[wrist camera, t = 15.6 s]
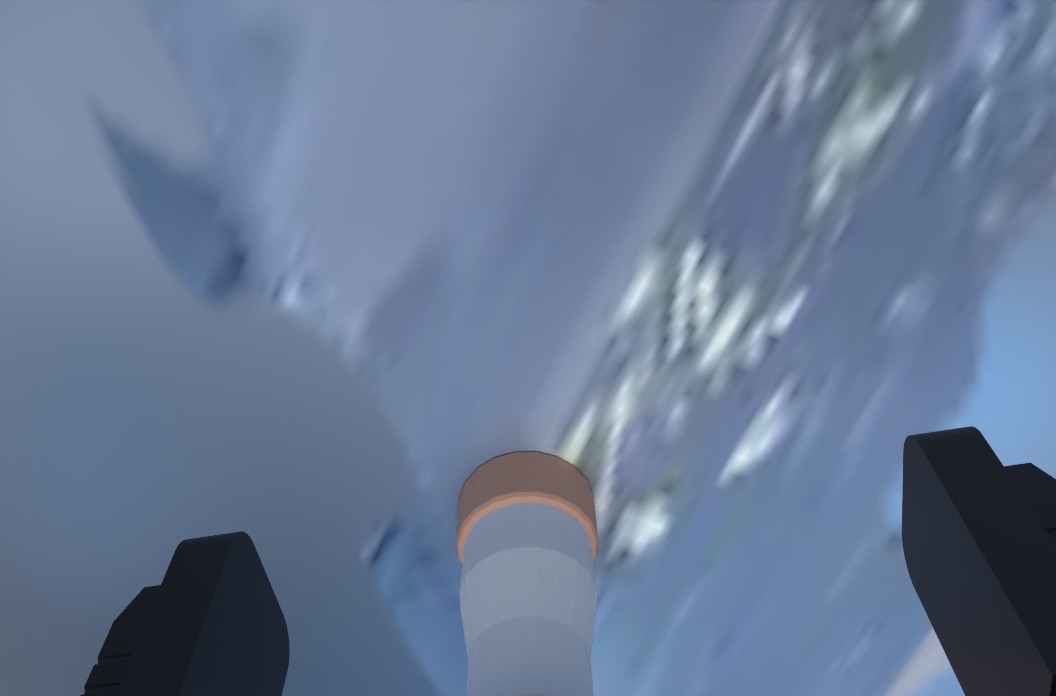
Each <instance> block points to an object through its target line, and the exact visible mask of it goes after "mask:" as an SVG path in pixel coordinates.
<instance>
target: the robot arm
mask: <svg viewBox="0 0 1056 696" xmlns="http://www.w3.org/2000/svg"><path fill="white" fill-rule="evenodd" d="M902 505H903V506H902V542H903V550H904V555H905V560H906V564H907V568H908V572H909V575H910V578H911V581H912V583H913V586H914V588H915V590H916V592H917V594H918V597H919V599H920V601H921V603H922V605H923V607H924V609H925V611H926V613H927V616H928V618H929V620H930V622H931V624H932V626H933V628H934V630H935V632H936V635H937V637H938V639H939V641H940V643H941V645H942V647H943V649H944V651H945V654H946V656H947V658H948V660H949V662H950V664H951V666H952V668H953V670H954V673H955V675H956V677H957V679H958V681H959V683H960V685H961V687H962V689H963V691H964V694H965V696H1056V479H1054V478H1053V477H1051V476H1050V475H1048V474H1047V473H1045V472H1044V471H1042V470H1041V469H1039V468H1038V467H1036V466H1034V465H1033V464H1032V463H1026V464H1018V465H1011V466H1005V467H1004V466H1003V465H1002V463H1001V462H1000V460H999V459H998V457H997V456H996V455H995V453H994V451H993V450H992V449H991V447H990V446H989V444H988V443H987V441H986V440H985V438H984V437H983V435H982V434H981V433H980V431H979V430H978V429H976V428H974V427H964V428H957V429H951V430H944V431H937V432H930V433H923V434H916V435H910V436H908V437H907V438H906V440H905V443H904V452H903V503H902ZM288 664H289V637H288V630H287V625H286V622H285V618H284V615H283V613H282V610H281V608H280V606H279V603H278V601H277V599H276V596H275V594H274V591H273V589H272V587H271V584H270V582H269V579H268V577H267V575H266V572H265V570H264V567H263V565H262V563H261V560H260V558H259V555H258V554H257V551H256V548H255V546H254V544H253V542H252V540H251V538H250V537H249V536H248V534H246V533H245V532H234V533H227V534H221V535H214V536H208V537H200V538H193V539H187V540H183V541H182V542H181V543H180V544H179V545H178V546H177V549H176V550H175V553H174V555H173V558H172V560H171V562H170V565H169V567H168V570H167V572H166V574H165V577H164V579H163V582H162V584H161V585H158V586H151V587H145V588H143V589H142V591H141V592H140V593H139V594H138V595H137V596H136V597H135V598H134V600H133V601H132V602H131V603H130V604H129V605H128V606H127V607H126V609H125V610H124V611H123V612H122V613H121V614H120V615H119V616H118V617H117V619H116V620H115V621H114V622H113V625H112V627H111V629H110V631H109V633H108V636H107V638H106V640H105V642H104V645H103V647H102V649H101V651H100V653H99V655H98V664H97V665H94V667H93V669H92V671H91V673H90V675H89V678H88V680H87V682H86V684H85V687H84V688H85V694H84V695H81V696H281V695H282V691H283V687H284V683H285V678H286V675H287V670H288Z"/></svg>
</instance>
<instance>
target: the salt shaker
mask: <svg viewBox="0 0 1056 696" xmlns="http://www.w3.org/2000/svg"><path fill="white" fill-rule="evenodd" d="M597 548H598V534H597V525H596V515H595V506H594V497H593V494H592V491H591V489H590V486H589V484H588V481H587V480H586V478H585V477H584V476H583V475H582V474H581V473H580V472H579V471H578V470H577V469H576V467H574V466H573V465H571V464H569V463H567V462H566V461H564V460H562V459H560V458H559V457H556V456H552V455H548V454H544V453H539V452H514V453H510V454H507V455H503V456H499V457H496V458H493V459H492V460H490V461H488V462H487V463H485V464H484V465H482V466H480V467H479V468H477V469H476V470H475V471H474V473H473V474H472V475H471V476H470V477H469V479H468V480H467V481H466V482H465V484H464V487H463V490H462V493H461V496H460V498H459V512H458V526H457V554H458V558H459V560H460V562H461V564H462V572H461V582H460V592H459V593H460V608H461V615H462V622H463V628H464V635H465V642H466V648H467V655H468V685H467V696H593V684H592V671H591V650H592V641H593V632H594V623H595V614H596V604H597V587H596V580H595V572H594V565H593V562H594V560H595V558H596V556H597Z"/></svg>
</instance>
